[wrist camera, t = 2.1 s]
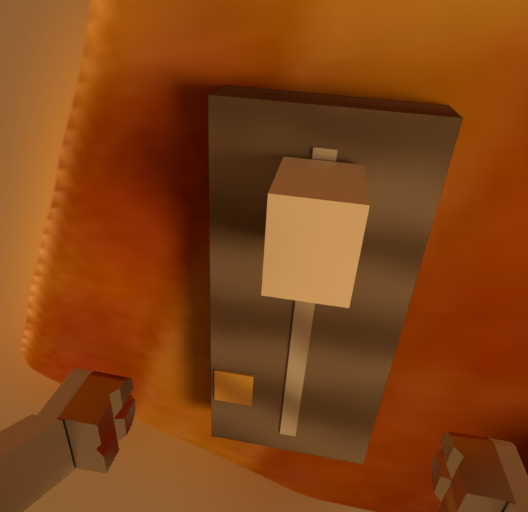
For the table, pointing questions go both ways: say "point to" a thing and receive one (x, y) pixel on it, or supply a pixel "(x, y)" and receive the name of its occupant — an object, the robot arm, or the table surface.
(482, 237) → the table surface
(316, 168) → the fader
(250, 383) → the track board
